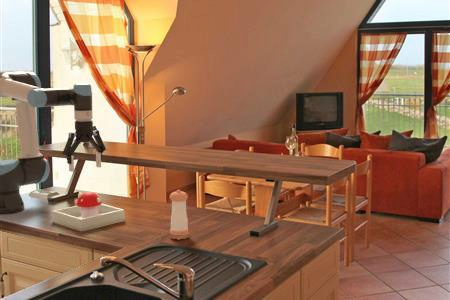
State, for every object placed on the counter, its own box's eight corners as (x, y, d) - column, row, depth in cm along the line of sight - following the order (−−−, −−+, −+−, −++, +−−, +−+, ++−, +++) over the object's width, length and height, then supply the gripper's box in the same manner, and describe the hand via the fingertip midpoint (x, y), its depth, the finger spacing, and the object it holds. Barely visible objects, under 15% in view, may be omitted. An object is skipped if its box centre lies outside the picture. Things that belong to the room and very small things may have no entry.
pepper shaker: (181, 241, 222) (180, 192, 220) (166, 238, 226) (165, 190, 223) (192, 236, 228) (191, 189, 226) (177, 234, 232) (176, 187, 229)
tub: (52, 222, 252) (52, 210, 251) (95, 212, 268) (94, 201, 267) (81, 231, 237) (80, 219, 236) (124, 220, 253) (124, 209, 252)
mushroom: (105, 215, 258) (104, 189, 256) (98, 222, 247) (97, 194, 245) (82, 215, 259) (80, 189, 257) (73, 221, 248) (72, 194, 246)
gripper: (62, 123, 236) (64, 174, 239) (113, 118, 254) (114, 166, 257) (52, 121, 241) (54, 171, 244) (102, 117, 259) (104, 164, 262)
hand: (85, 169), depth 250 cm, fingers open, 13 cm apart
